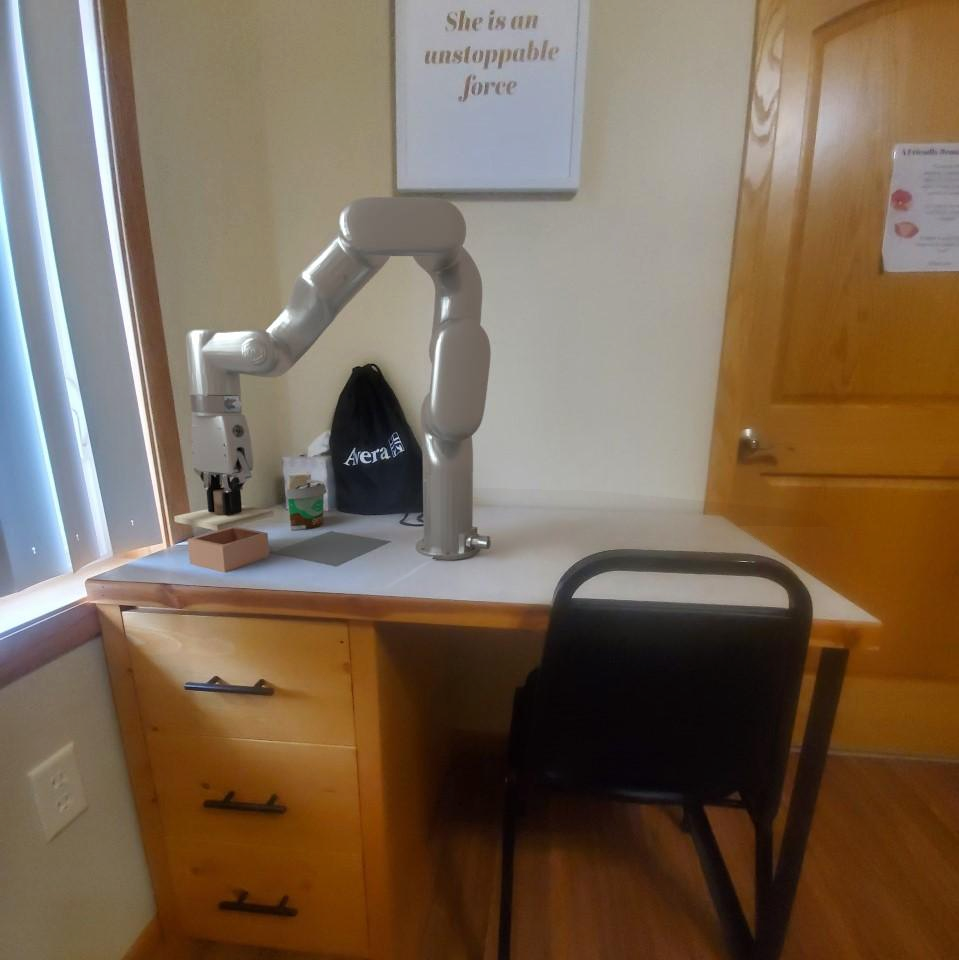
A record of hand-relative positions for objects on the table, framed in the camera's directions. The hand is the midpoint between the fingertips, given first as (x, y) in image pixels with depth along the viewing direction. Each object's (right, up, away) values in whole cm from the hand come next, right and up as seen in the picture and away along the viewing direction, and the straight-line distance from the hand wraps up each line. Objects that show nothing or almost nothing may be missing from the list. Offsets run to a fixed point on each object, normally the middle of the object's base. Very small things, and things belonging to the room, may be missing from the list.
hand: (225, 511), depth 84 cm
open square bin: (0, -9, +2) cm, 10 cm away
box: (+1, -4, +33) cm, 33 cm away
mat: (+16, -8, +9) cm, 20 cm away
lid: (0, -1, 0) cm, 1 cm away
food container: (+7, -5, +25) cm, 26 cm away
